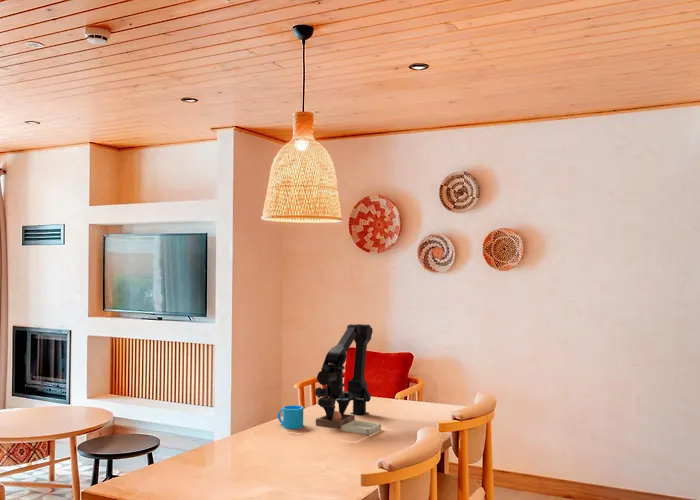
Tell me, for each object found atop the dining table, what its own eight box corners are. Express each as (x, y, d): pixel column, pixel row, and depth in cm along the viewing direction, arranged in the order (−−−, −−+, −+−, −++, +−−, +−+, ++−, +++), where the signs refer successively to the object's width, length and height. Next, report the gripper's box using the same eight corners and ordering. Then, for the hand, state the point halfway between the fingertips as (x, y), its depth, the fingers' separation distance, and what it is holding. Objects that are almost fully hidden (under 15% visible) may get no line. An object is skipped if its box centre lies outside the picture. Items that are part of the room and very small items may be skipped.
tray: (354, 426, 251) (354, 420, 251) (380, 430, 245) (380, 423, 245) (340, 432, 241) (340, 426, 241) (368, 436, 235) (368, 430, 235)
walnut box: (332, 419, 262) (332, 412, 262) (354, 422, 257) (354, 415, 257) (315, 426, 250) (315, 419, 250) (338, 429, 245) (338, 422, 245)
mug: (307, 427, 249) (307, 407, 249) (294, 431, 242) (294, 410, 242) (284, 423, 255) (284, 403, 256) (271, 427, 249) (271, 406, 249)
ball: (333, 421, 257) (333, 409, 257) (343, 422, 254) (343, 410, 254) (327, 423, 252) (327, 411, 252) (337, 425, 250) (337, 412, 250)
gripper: (330, 376, 266) (330, 412, 265) (307, 383, 250) (306, 421, 249) (353, 378, 261) (352, 416, 260) (330, 385, 244) (330, 425, 244)
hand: (335, 419), depth 253 cm, fingers open, 9 cm apart
